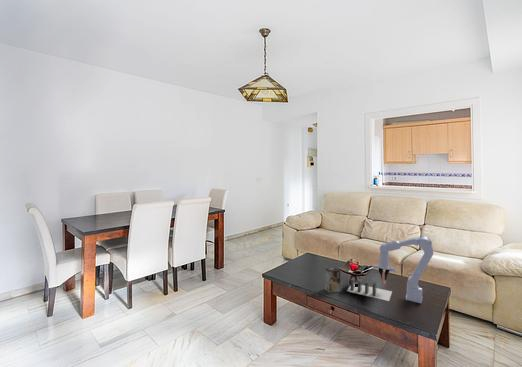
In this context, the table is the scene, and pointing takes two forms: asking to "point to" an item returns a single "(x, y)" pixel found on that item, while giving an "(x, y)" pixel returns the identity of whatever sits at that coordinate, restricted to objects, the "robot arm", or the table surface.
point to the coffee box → (332, 280)
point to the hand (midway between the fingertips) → (384, 279)
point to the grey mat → (379, 293)
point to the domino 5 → (383, 278)
